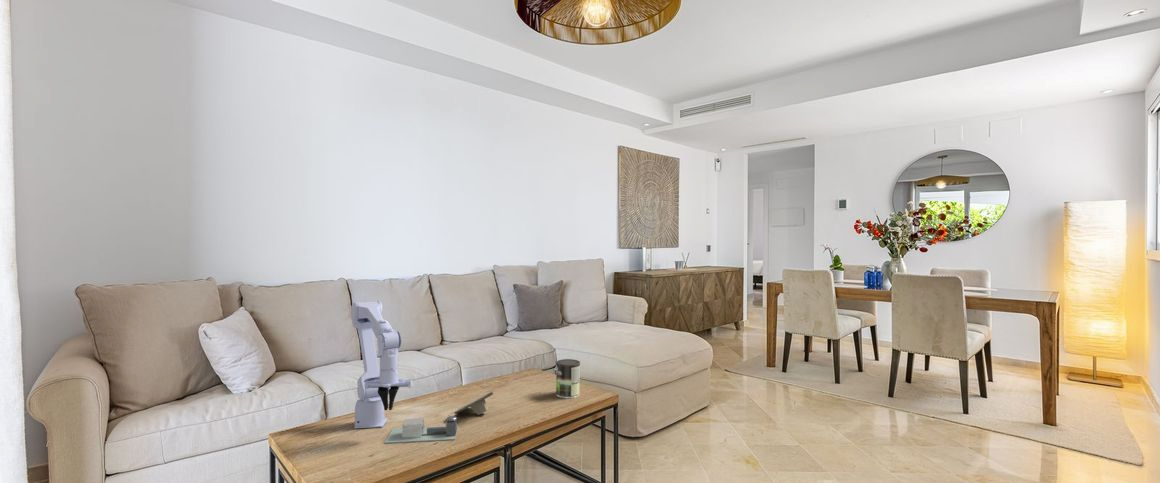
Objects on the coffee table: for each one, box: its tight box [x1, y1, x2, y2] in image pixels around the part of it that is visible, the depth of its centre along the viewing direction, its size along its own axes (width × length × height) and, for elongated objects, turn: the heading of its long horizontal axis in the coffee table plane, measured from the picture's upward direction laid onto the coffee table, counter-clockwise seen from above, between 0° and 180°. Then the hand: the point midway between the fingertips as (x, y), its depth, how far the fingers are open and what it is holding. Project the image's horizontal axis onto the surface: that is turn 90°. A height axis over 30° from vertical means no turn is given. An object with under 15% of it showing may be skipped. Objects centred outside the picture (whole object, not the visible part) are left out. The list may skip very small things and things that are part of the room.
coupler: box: [427, 415, 458, 436], centre depth 163 cm, size 10×5×5 cm, turn 99°
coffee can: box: [555, 358, 581, 399], centre depth 207 cm, size 10×10×14 cm
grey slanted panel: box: [447, 389, 495, 417], centre depth 182 cm, size 16×9×15 cm
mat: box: [384, 424, 459, 445], centre depth 163 cm, size 22×12×1 cm, turn 99°
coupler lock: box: [401, 418, 425, 439], centre depth 161 cm, size 6×5×4 cm
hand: (388, 409), depth 160 cm, fingers closed
